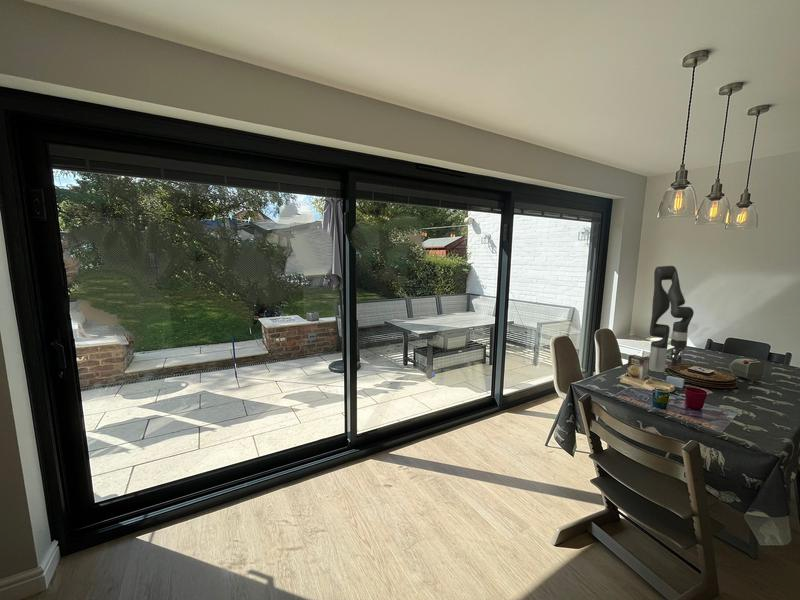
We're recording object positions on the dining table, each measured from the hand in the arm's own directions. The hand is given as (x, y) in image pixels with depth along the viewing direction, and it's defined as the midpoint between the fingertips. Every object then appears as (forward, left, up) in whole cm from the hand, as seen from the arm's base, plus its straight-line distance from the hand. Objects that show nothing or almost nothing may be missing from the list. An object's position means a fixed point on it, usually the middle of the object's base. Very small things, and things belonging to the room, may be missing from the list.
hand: (676, 364), depth 204 cm
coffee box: (+15, -16, -13) cm, 25 cm away
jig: (+15, -10, -14) cm, 22 cm away
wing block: (0, 0, -14) cm, 14 cm away
